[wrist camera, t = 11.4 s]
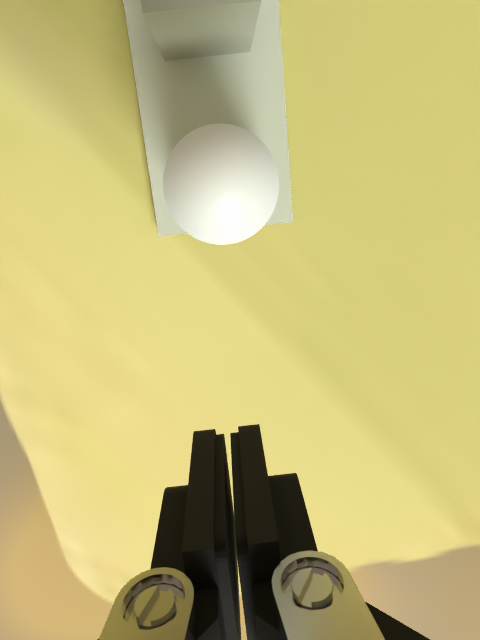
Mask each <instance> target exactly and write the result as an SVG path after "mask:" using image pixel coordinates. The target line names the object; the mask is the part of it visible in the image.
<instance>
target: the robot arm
mask: <svg viewBox="0 0 480 640" xmlns="http://www.w3.org/2000/svg"><path fill="white" fill-rule="evenodd" d="M238 430H239V432H237V433H230V434H231V455H232V476H233V497H234V511H233V503H232V495H231V487H230V479H229V470H228V462H227V454H226V446H225V438H224V434H219V435H216V431H215V429H212V430H203V431H194V433H193V443H192V453H191V463H190V473H189V483H188V485H185V486H176V487H167V488H166V489H165V491H164V495H163V501H162V507H161V512H160V518H159V524H158V529H157V535H156V541H155V546H154V552H153V558H152V563H151V569H150V570H147V571H145V572H142V573H140V574H139V575H137V576H135V577H134V578H132V579H131V580H130V581H129V582H128V583H127V584H126V585H125V586H124V587H123V588H122V589H121V591H120V592H119V594H118V596H117V597H116V599H115V601H114V604H113V606H112V609H111V611H110V614H109V616H108V618H107V621H106V623H105V626H104V628H103V631H102V633H101V635H100V638H99V639H98V640H241V627H240V607H239V586H238V568H239V576H240V584H241V592H242V600H243V608H244V616H245V624H246V633H247V640H430V639H428V638H426V637H424V636H423V635H421V634H419V633H418V632H416V631H414V630H412V629H411V628H409V627H407V626H406V625H404V624H402V623H401V622H399V621H397V620H396V619H394V618H392V617H391V616H389V615H387V614H385V613H384V612H382V611H380V610H379V609H377V608H375V607H373V606H372V605H370V604H368V603H367V602H365V601H364V599H363V597H362V595H361V593H360V592H359V590H358V588H357V586H356V584H355V582H354V580H353V578H352V576H351V574H350V573H349V571H348V570H347V569H346V567H345V566H344V565H343V563H341V562H340V561H339V560H337V559H336V558H335V557H333V556H331V555H328V554H326V553H323V552H318V550H317V547H316V543H315V539H314V536H313V532H312V528H311V524H310V521H309V517H308V513H307V510H306V506H305V502H304V498H303V495H302V491H301V487H300V484H299V480H298V477H297V474H296V473H292V474H283V475H274V476H268V474H267V468H266V462H265V456H264V450H263V444H262V438H261V432H260V427H259V424H258V425H249V426H240V427H238ZM234 518H235V520H234ZM237 560H238V566H237Z"/></svg>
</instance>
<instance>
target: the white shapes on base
mask: <svg viewBox="0 0 480 640" xmlns="http://www.w3.org/2000/svg"><path fill="white" fill-rule="evenodd" d="M123 3H124V10H125V16H126V23H127V29H128V36H129V43H130V49H131V56H132V63H133V69H134V76H135V83H136V89H137V96H138V102H139V109H140V116H141V122H142V129H143V136H144V142H145V149H146V155H147V162H148V169H149V175H150V182H151V189H152V195H153V202H154V208H155V215H156V222H157V228H158V235H159V236H167V235H176V234H185V233H188V234H190V235H191V236H193V237H194V238H196V239H198V240H201V241H204V242H207V243H211V244H219V245H224V244H233V243H237V242H240V241H243V240H245V239H247V238H249V237H251V236H252V235H254V234H255V233H256V232H258V231H259V230H260V229H261V228H262V227H263V226H264V225H270V224H280V223H289V222H293V213H292V197H291V182H290V167H289V151H288V136H287V120H286V105H285V90H284V74H283V59H282V44H281V28H280V13H279V0H123Z"/></svg>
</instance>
